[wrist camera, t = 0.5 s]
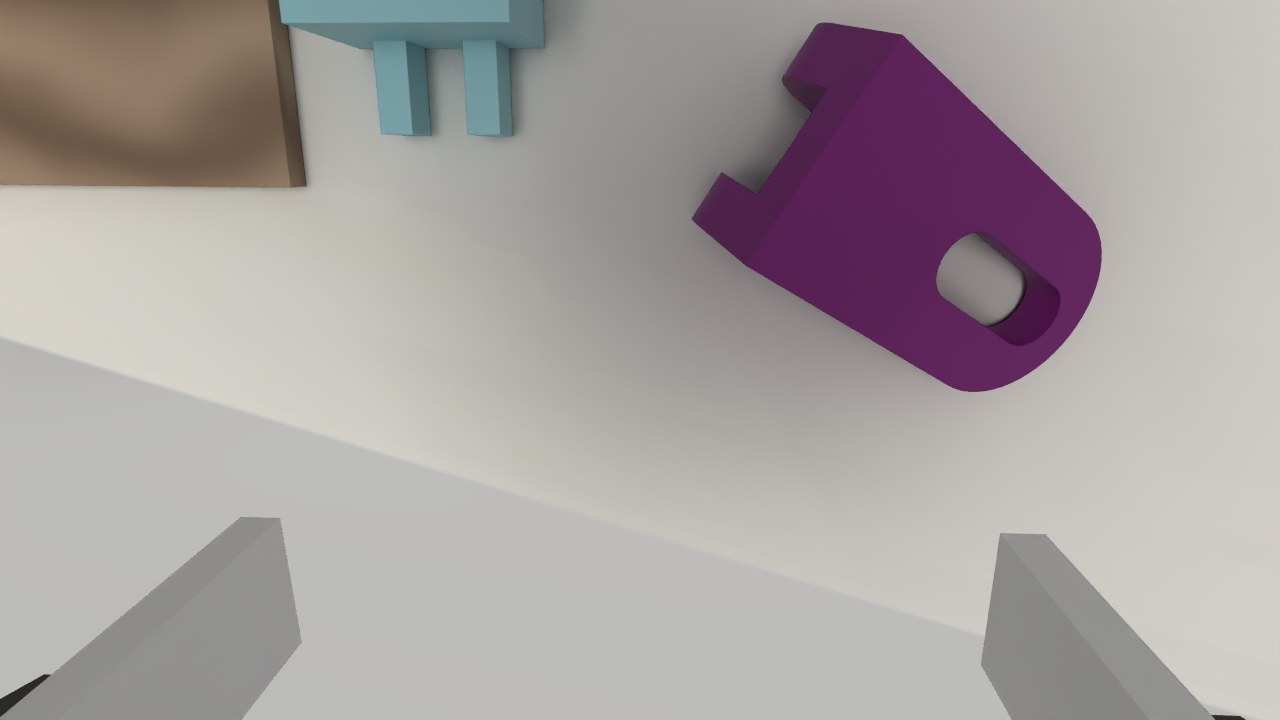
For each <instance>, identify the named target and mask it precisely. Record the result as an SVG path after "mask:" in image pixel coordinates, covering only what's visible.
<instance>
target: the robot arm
mask: <svg viewBox="0 0 1280 720" xmlns="http://www.w3.org/2000/svg"><path fill="white" fill-rule="evenodd" d="M300 644H301V636H300V630H299V624H298V618H297V613H296V608H295V601H294V595H293V590H292V584H291V579H290V573H289V567H288V561H287V555H286V550H285V544H284V538H283V532H282V527H281V522H280V518H258V517H241V518H239V519H238V520H237V521H236V522H234V523H233V524H232V525H231V526H230V527H228V528H227V529H226V530H225V531H224V532H222V533H221V534H220V535H219V536H218V537H216V538H215V539H214V540H213V541H211V542H210V543H209V544H208V545H207V546H206V547H204V548H203V549H202V550H201V551H200V552H198V553H197V554H196V555H195V556H193V557H192V558H191V559H190V560H189V561H188V562H186V563H185V564H184V565H183V566H182V567H180V568H179V569H178V570H177V571H175V572H174V573H173V574H172V575H171V576H170V577H168V578H167V579H166V580H165V581H164V582H162V583H161V584H160V585H159V586H158V587H156V588H155V589H154V590H153V591H151V592H150V593H149V594H148V595H147V596H145V597H144V598H143V599H142V600H141V601H139V602H138V603H137V604H136V605H135V606H133V607H132V608H131V609H130V610H129V611H127V612H126V613H125V614H124V615H123V616H121V617H120V618H119V619H118V620H117V621H115V622H114V623H113V624H112V625H111V626H109V627H108V628H107V629H106V630H105V631H103V632H102V633H101V634H100V635H99V636H97V637H96V638H95V639H94V640H93V641H92V642H90V643H89V644H88V645H87V646H85V647H84V648H83V649H82V650H81V651H79V652H78V653H77V654H76V655H75V656H73V657H72V658H71V659H70V660H69V661H67V662H66V663H65V664H64V665H62V666H61V667H60V668H59V669H58V670H56V671H55V672H54V673H53V674H52V675H46V674H45V675H42V676H41V677H39V678H37V679H35V680H33V681H32V682H30V683H28V684H26V685H24V686H23V687H21V688H19V689H17V690H16V691H14V692H12V693H10V694H8V695H7V696H5V697H3V698H1V699H0V720H241V719H242V718H243V717H244V716H245V714H246V713H247V712H248V710H249V709H250V708H251V707H252V705H253V704H254V703H255V701H256V700H257V699H258V698H259V696H260V695H261V694H262V692H263V691H264V690H265V689H266V687H267V686H268V685H269V683H270V682H271V681H272V680H273V678H274V677H275V676H276V674H277V673H278V672H279V671H280V669H281V668H282V667H283V665H284V664H285V663H286V662H287V660H288V659H289V658H290V656H291V655H292V654H293V653H294V651H295V650H296V649H297V647H298V646H299V645H300ZM981 665H982V667H983V669H984V671H985V672H986V674H987V676H988V678H989V680H990V681H991V683H992V685H993V687H994V689H995V690H996V692H997V694H998V696H999V697H1000V699H1001V701H1002V703H1003V704H1004V706H1005V708H1006V710H1007V712H1008V713H1009V715H1010V717H1011V719H1012V720H1245V719H1244V718H1242V717H1241V716H1223V715H1210V714H1209V713H1208V711H1207V710H1206V709H1205V708H1204V707H1203V706H1202V705H1201V704H1200V703H1199V701H1198V700H1197V699H1196V698H1195V697H1194V696H1193V695H1192V694H1191V693H1190V692H1189V691H1188V689H1187V688H1186V687H1185V686H1184V685H1183V684H1182V683H1181V682H1180V681H1179V680H1178V679H1177V677H1176V676H1175V675H1174V674H1173V673H1172V672H1171V671H1170V670H1169V669H1168V668H1167V667H1166V665H1165V664H1164V663H1163V662H1162V661H1161V660H1160V659H1159V658H1158V657H1157V656H1156V655H1155V653H1154V652H1153V651H1152V650H1151V649H1150V648H1149V647H1148V646H1147V645H1146V644H1145V643H1144V641H1143V640H1142V639H1141V638H1140V637H1139V636H1138V635H1137V634H1136V633H1135V632H1134V631H1133V629H1132V628H1131V627H1130V626H1129V625H1128V624H1127V623H1126V622H1125V621H1124V620H1123V619H1122V617H1121V616H1120V615H1119V614H1118V613H1117V612H1116V611H1115V610H1114V609H1113V608H1112V607H1111V605H1110V604H1109V603H1108V602H1107V601H1106V600H1105V599H1104V598H1103V597H1102V596H1101V595H1100V593H1099V592H1098V591H1097V590H1096V589H1095V588H1094V587H1093V586H1092V585H1091V584H1090V583H1089V581H1088V580H1087V579H1086V578H1085V577H1084V576H1083V575H1082V574H1081V573H1080V572H1079V571H1078V569H1077V568H1076V567H1075V566H1074V565H1073V564H1072V563H1071V562H1070V561H1069V560H1068V559H1067V557H1066V556H1065V555H1064V554H1063V553H1062V552H1061V551H1060V550H1059V549H1058V548H1057V547H1056V545H1055V544H1054V543H1053V542H1052V541H1051V540H1050V539H1049V538H1048V537H1047V536H1046V535H1045V534H1004V533H1000V539H999V545H998V552H997V559H996V566H995V573H994V579H993V586H992V593H991V600H990V607H989V613H988V620H987V627H986V634H985V641H984V647H983V654H982V661H981Z"/></svg>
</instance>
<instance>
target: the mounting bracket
mask: <svg viewBox="0 0 1280 720" xmlns="http://www.w3.org/2000/svg"><path fill="white" fill-rule="evenodd" d="M782 82H783V84H784V86H785V87H786V88H787V89H788V91H789V92H790V93H791V94H792V95H793V96H794V97H795V98H796V99H797V100H799V101H800V102H801V103H802V104H803V105H804V106H805V107H807V108H808V109H809V110H810V111H812V114H811V115H810V117H809V118H808V120H807V121H806V123H805V124H804V126H803V127H802V129H801V130H800V132H799V133H798V135H797V136H796V138H795V139H794V141H793V142H792V144H791V145H790V147H789V148H788V150H787V151H786V153H785V154H784V156H783V157H782V159H781V160H780V162H779V163H778V165H777V166H776V168H775V169H774V171H773V172H772V174H771V175H770V177H769V178H768V180H767V181H766V183H765V184H764V186H763V187H762V189H761V190H760V192H759V193H758V195H757V194H755V193H754V192H752V191H751V190H749V189H748V188H746V187H744V186H743V185H741V184H740V183H738V182H737V181H735V180H733V179H732V178H730V177H729V176H727V175H726V174H724V173H722V172H721V174H720V175H719V177H718V179H717V180H716V182H715V183H714V185H713V186H712V188H711V189H710V191H709V193H708V194H707V196H706V197H705V199H704V200H703V202H702V203H701V205H700V207H699V208H698V210H697V211H696V213H695V214H694V216H693V217H692V220H693V221H694V222H695V223H696V224H697V225H698V226H700V227H701V228H702V229H703V230H704V231H705V232H707V233H708V234H709V235H710V236H711V237H713V238H714V239H715V240H716V241H717V242H718V243H720V244H721V245H722V246H723V247H724V248H726V249H727V250H728V251H729V252H730V253H732V254H733V255H734V256H735V257H736V258H737V259H739V260H740V261H741V262H742V263H743V264H745V265H746V266H747V267H749V268H751V269H753V270H754V271H756V272H758V273H759V274H761V275H763V276H764V277H766V278H768V279H769V280H771V281H773V282H774V283H776V284H778V285H780V286H781V287H783V288H785V289H786V290H788V291H790V292H791V293H793V294H795V295H796V296H798V297H800V298H801V299H803V300H805V301H807V302H808V303H810V304H812V305H813V306H815V307H817V308H818V309H820V310H822V311H823V312H825V313H827V314H828V315H830V316H832V317H834V318H835V319H837V320H839V321H840V322H842V323H844V324H845V325H847V326H849V327H850V328H852V329H854V330H855V331H857V332H859V333H861V334H862V335H864V336H866V337H867V338H869V339H871V340H872V341H874V342H876V343H877V344H879V345H881V346H882V347H884V348H886V349H887V350H889V351H891V352H893V353H894V354H896V355H898V356H899V357H901V358H903V359H904V360H906V361H908V362H909V363H911V364H913V365H914V366H916V367H918V368H920V369H921V370H923V371H925V372H926V373H928V374H930V375H931V376H933V377H935V378H936V379H938V380H940V381H941V382H943V383H945V384H947V385H948V386H950V387H952V388H955V389H958V390H961V391H968V392H980V391H988V390H993V389H996V388H999V387H1003V386H1005V385H1008V384H1010V383H1012V382H1014V381H1016V380H1018V379H1020V378H1022V377H1023V376H1025V375H1027V374H1028V373H1030V372H1031V371H1033V370H1034V369H1036V368H1037V367H1038V366H1040V365H1041V364H1042V363H1043V362H1045V361H1046V360H1047V359H1048V358H1049V357H1050V356H1051V355H1052V354H1053V353H1054V352H1055V351H1056V350H1057V349H1058V348H1059V347H1060V346H1061V345H1062V344H1063V343H1064V342H1065V340H1066V339H1067V338H1068V337H1069V336H1070V334H1071V333H1072V332H1073V330H1074V329H1075V327H1076V326H1077V324H1078V323H1079V321H1080V320H1081V318H1082V316H1083V315H1084V313H1085V311H1086V309H1087V307H1088V305H1089V303H1090V301H1091V299H1092V296H1093V294H1094V291H1095V288H1096V285H1097V282H1098V278H1099V273H1100V268H1101V255H1102V250H1101V241H1100V237H1099V233H1098V231H1097V228H1096V226H1095V224H1094V222H1093V221H1092V219H1091V218H1090V217H1089V216H1088V214H1087V213H1086V212H1085V211H1084V210H1083V209H1082V208H1081V207H1080V206H1079V205H1077V204H1076V203H1075V202H1074V201H1073V200H1072V199H1071V198H1070V197H1069V196H1068V195H1067V194H1066V193H1065V192H1064V191H1063V190H1062V189H1061V188H1060V187H1059V186H1058V185H1057V184H1056V183H1055V182H1054V181H1053V180H1052V179H1051V178H1050V177H1049V176H1048V175H1047V174H1045V173H1044V172H1043V171H1042V170H1041V169H1040V168H1039V167H1038V166H1037V165H1036V164H1035V163H1034V162H1033V161H1032V160H1031V159H1030V158H1029V157H1028V156H1027V155H1026V154H1025V153H1024V152H1023V151H1022V150H1021V149H1020V148H1019V147H1018V146H1017V145H1016V144H1015V143H1013V142H1012V141H1011V140H1010V139H1009V138H1008V137H1007V136H1006V135H1005V134H1004V133H1003V132H1002V131H1001V130H1000V129H999V128H998V127H997V126H996V125H995V124H994V123H993V122H992V121H991V120H990V119H989V118H988V117H987V116H986V115H985V114H984V113H983V112H981V111H980V110H979V109H978V108H977V107H976V106H975V105H974V104H973V103H972V102H971V101H970V100H969V99H968V98H967V97H966V96H965V95H964V94H963V93H962V92H961V91H960V90H959V89H958V88H957V87H956V86H955V85H954V84H953V83H952V82H951V81H949V80H948V79H947V78H946V77H945V76H944V75H943V74H942V73H941V72H940V71H939V70H938V69H937V68H936V67H935V66H934V65H933V64H932V63H931V62H930V61H929V60H928V59H927V58H926V57H925V56H924V55H923V54H922V53H921V52H920V51H919V50H917V49H916V48H915V47H914V46H913V45H912V44H911V43H910V42H909V41H908V40H907V39H906V38H905V37H904V36H903V35H900V34H894V33H888V32H882V31H876V30H870V29H864V28H858V27H852V26H846V25H840V24H834V23H819V24H817V25H816V26H815V28H814V29H813V31H812V32H811V34H810V35H809V37H808V39H807V40H806V42H805V43H804V45H803V46H802V48H801V49H800V51H799V53H798V54H797V56H796V57H795V59H794V60H793V62H792V63H791V65H790V67H789V68H788V70H787V71H786V73H785V74H784V76H783V77H782ZM974 232H975V233H976V234H977V235H978V236H980V237H981V238H982V239H983V240H985V241H986V242H987V243H988V244H990V245H991V246H992V247H993V248H994V249H996V250H997V251H998V252H999V253H1001V254H1002V255H1003V256H1004V257H1006V258H1007V259H1008V260H1009V261H1011V262H1012V263H1013V264H1014V265H1016V266H1017V267H1018V268H1019V269H1020V270H1022V271H1023V273H1024V274H1025V276H1026V280H1027V289H1026V293H1025V296H1024V299H1023V301H1022V303H1021V304H1020V306H1019V307H1018V309H1017V310H1016V311H1015V312H1014V313H1013V314H1012V315H1011V316H1010V317H1009V318H1008V319H1007V320H1005V321H1004V322H1002V323H1000V324H998V325H995V326H991V327H984V326H983V325H982V324H980V323H979V322H977V321H976V320H974V319H973V318H972V317H970V316H969V315H967V314H966V313H964V312H963V311H962V310H960V309H959V308H957V307H956V306H954V305H953V304H951V303H950V302H949V301H947V300H946V299H944V298H943V297H942V296H941V295H940V293H939V292H938V289H937V285H936V275H937V271H938V267H939V265H940V262H941V260H942V258H943V257H944V255H945V254H946V252H947V251H948V250H949V248H950V247H951V246H952V245H953V244H954V243H955V242H957V241H958V240H959V239H961V238H962V237H964V236H966V235H968V234H971V233H974Z"/></svg>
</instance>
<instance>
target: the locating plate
mask: <svg viewBox="0 0 1280 720" xmlns="http://www.w3.org/2000/svg"><path fill="white" fill-rule="evenodd" d="M0 185H88V186H191V187H303V186H306V181H305V173H304V164H303V156H302V147H301V139H300V130H299V122H298V113H297V105H296V96H295V88H294V79H293V70H292V62H291V53H290V45H289V36H288V28H287V25H286V24H283V23H282V22H281V13H280V5H279V0H0Z"/></svg>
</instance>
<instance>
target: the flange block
mask: <svg viewBox="0 0 1280 720" xmlns="http://www.w3.org/2000/svg"><path fill="white" fill-rule="evenodd" d="M279 5H280V13H281V22H282V23H283V24H286V25H289V26H292V27H295V28H299V29H302V30H305V31H308V32H311V33H314V34H317V35H320V36H323V37H326V38H329V39H332V40H335V41H338V42H341V43H344V44H347V45H350V46H353V47H356V48H359V49H373V50H374V61H375V72H376V84H377V95H378V107H379V118H380V129H381V134H387V135H401V136H431V128H430V113H429V99H428V84H427V70H426V56H425V49H463V57H464V75H465V93H466V111H467V128H468V135H478V136H513V132H512V107H511V82H510V57H509V48H544V16H543V0H279Z"/></svg>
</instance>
